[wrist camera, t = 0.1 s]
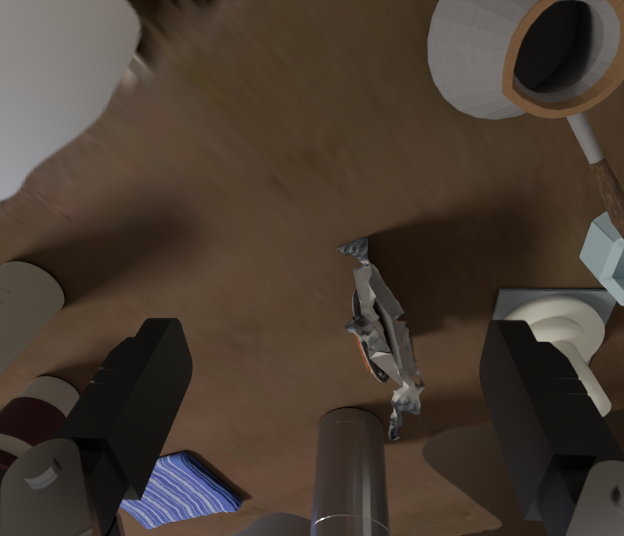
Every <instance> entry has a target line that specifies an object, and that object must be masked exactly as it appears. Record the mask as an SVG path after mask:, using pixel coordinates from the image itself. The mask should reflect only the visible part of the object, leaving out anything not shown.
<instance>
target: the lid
mask: <svg viewBox="0 0 624 536" xmlns="http://www.w3.org/2000/svg"><path fill="white" fill-rule="evenodd" d="M502 320H525V321H526V322H527V323H528V325H529V326H530V328H531V330H532V332H533V334H534V336H535V338H536V340H537V341H543V342H550V343H552V344H553V345H554V346H555V347H556V348H557V349H558V350H560V351H561V352H562V353H563V354H564V355H565V356H566V357H568V359H569V361H570V362H571V364H572V366H573V367H574V369H575V371H576V373H577V374H578V376H579V377H578V378H579V380H581V381H582V383H583V385H584V386H585V388H586V390H587V391H588V396H590V397H591V398H592V400H593V402H594V403H595V405H596V407H597V409H598V410H599V412H600V414H601V415H602V417H604V416H605V415H606V414H607V413H608V412H609V411H610V409H611V402H610V401H609V399H608V397H607V396H606V394H605V393H604V391H603V389H602V388H601V386H600V385H599V383H598V381H597V380H596V378H595V376H594V375H593V373H592V372H591V370H590V368H589V367H588V365H587V364H586V362H587V361H588V360H589V358H590V357H591V356H592V355H593V354H594V353H595V352H596V351H597V350H598V348H599V347H600V345H601V343H602V341H603V338H604V334H605V327H604V323H603V321H602V319H601V317H600V316H599V315H598V313H597V312H596V311H595V310H594V308H593V307H592V306H591V305H590V304H588V303H587V302H585V301H583V300H581V299H579V298H576V297H572V296H566V295H550V296H543V297H539V298H535V299H532V300H529V301H527V302H525V303H522V304H521V305H519V306H517V307H515V308H514V309H512V310H511V311H510V312H509V313H507V314H506V315H505V316H504V317H503V319H502Z"/></svg>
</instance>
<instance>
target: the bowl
mask: <svg viewBox="0 0 624 536" xmlns="http://www.w3.org/2000/svg"><path fill="white" fill-rule="evenodd" d="M580 259H581V260H582V261H583V263H584V264H585V265H586V266H587V267H588V269H589V270H590V271H591V272H592V273H593V275H594V276H595V277H596V278H597V279H598V280H599V282H600V283H601V284H602V285H603V286H604V287H605V288H606V289H607V290H608V292H609V293H610V294H611V295H612V296H613V297H614V298H615V299H616V300H617V301H618V303H619V304H620V305H622V306H624V240H623V238H622V237H621V235H620V234H619V232H618V231H617V229H616V228H615V227H614V225H613V224H612V223H611V220H610V218H609V215H608V213H607V211H606V212H605V213H603V214H601V215H600V216H598V217H597V218H595V219H594V220H593V221H592V223H591V225H590V228H589V231H588V234H587V237H586V240H585V242H584V245H583V248H582V251H581V254H580Z"/></svg>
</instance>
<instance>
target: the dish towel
mask: <svg viewBox="0 0 624 536" xmlns="http://www.w3.org/2000/svg"><path fill="white" fill-rule="evenodd" d="M241 504H242V500H240V497H239V496H237V495H236V494H235V493H234V492H233V491H232V490H230V489H229V488H228V487H227V486H226V485H224V484H223V483H222V482H221V481H220V480H219V479H218V478H216V477H215V476H214V475H213V474H212V473H211V472H210V471H208V470H207V469H206V468H205V467H204V466H203V465H201V464H200V463H199V462H198V461H197V460H196V459H194V458H193V457H192V456H191V455H190V454H189V453H186V452H180V453H177V454H174V455H168V456H163V457H159V458H158V460H157V462H156V465H155V467H154V470H153V472H152V474H151V477H150V479H149V482H148V484H147V486H146V489H145V491H144V494H143V496H142V498H141V501H138V500H122V502H121V504H120V506H119V507H121V508H123V509H125V510H126V511H128V512H129V513H130V514H132V515H133V517H134V518H135V519H137V520H138V521H139V522H140V523H141V524H142V525H143V526H144V527H145V528H146V529H148V530H149V529H151V528H155V527H158V526H160V525H162V524H166V523H169V522H173V521H180V520H183V519H190V518H192V517H198V516H202V515H209V514H212V513H218V512H223V511H225V512H237V509H239V507H241Z"/></svg>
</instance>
